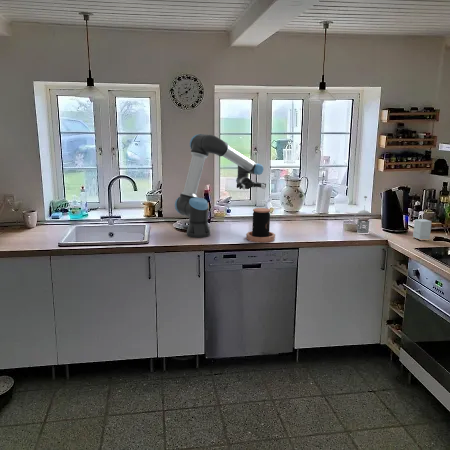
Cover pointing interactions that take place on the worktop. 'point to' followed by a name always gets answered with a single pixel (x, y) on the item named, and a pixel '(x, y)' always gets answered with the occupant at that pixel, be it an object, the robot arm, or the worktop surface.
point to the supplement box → (422, 229)
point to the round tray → (260, 239)
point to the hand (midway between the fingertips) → (254, 187)
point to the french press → (359, 222)
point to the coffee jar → (261, 222)
